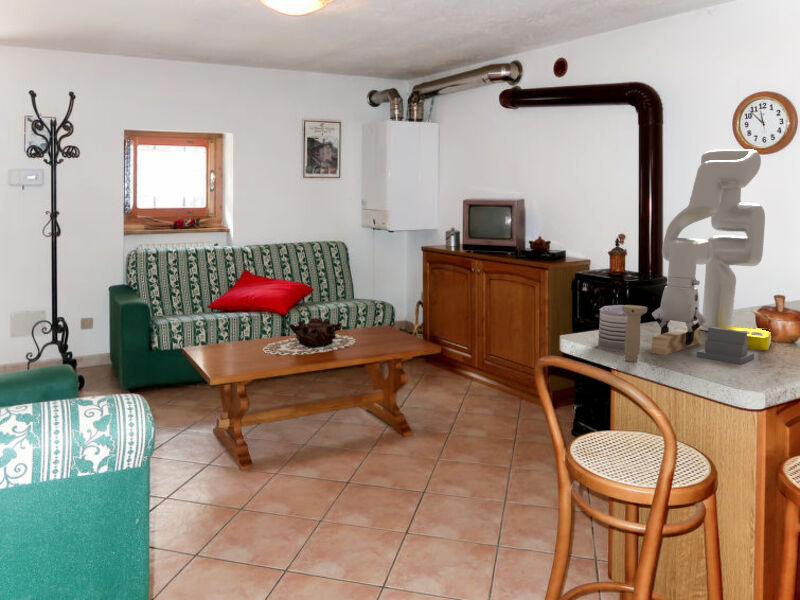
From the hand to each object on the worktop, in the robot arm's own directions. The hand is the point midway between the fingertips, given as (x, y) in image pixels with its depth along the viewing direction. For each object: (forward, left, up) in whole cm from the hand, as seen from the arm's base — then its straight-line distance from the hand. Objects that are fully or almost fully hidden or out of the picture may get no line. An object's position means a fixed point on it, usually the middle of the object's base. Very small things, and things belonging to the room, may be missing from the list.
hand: (676, 341), depth 212 cm
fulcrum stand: (+2, +15, -2) cm, 15 cm away
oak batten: (0, 0, -2) cm, 2 cm away
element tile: (-22, +11, -2) cm, 25 cm away
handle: (+26, -1, -2) cm, 26 cm away
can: (+13, -12, -2) cm, 18 cm away
